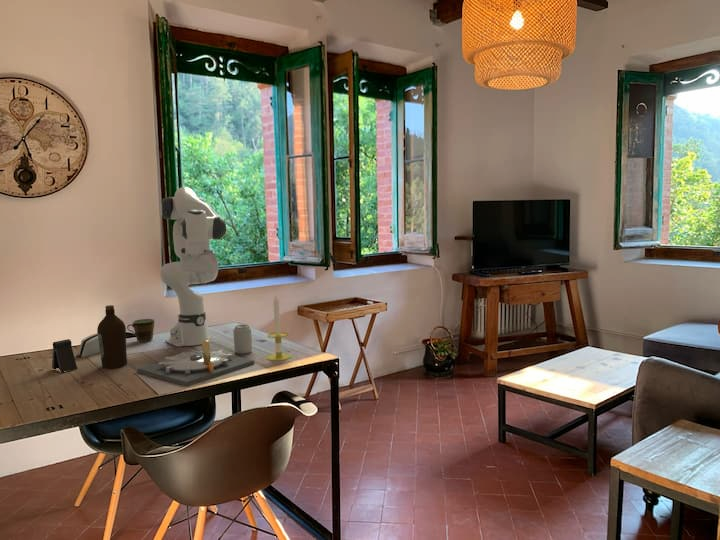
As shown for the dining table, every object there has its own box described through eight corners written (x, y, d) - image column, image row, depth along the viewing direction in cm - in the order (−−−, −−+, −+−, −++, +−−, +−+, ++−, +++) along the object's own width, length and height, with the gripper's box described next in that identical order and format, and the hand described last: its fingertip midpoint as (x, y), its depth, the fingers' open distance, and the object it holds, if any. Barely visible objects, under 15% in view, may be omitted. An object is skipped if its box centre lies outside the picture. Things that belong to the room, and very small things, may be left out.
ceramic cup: (150, 337, 275) (149, 317, 274) (159, 340, 268) (157, 320, 267) (124, 342, 266) (122, 322, 265) (132, 345, 259) (131, 325, 258)
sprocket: (151, 376, 203) (149, 347, 202) (170, 356, 231) (168, 330, 229) (225, 371, 206) (223, 343, 204) (235, 352, 233) (233, 327, 232)
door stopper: (77, 369, 222) (74, 340, 221) (62, 373, 217) (59, 343, 216) (67, 366, 227) (64, 337, 226) (51, 369, 223) (49, 340, 221)
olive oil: (128, 360, 233) (123, 302, 230) (129, 367, 223) (124, 306, 220) (100, 364, 228) (95, 305, 225) (100, 371, 219) (94, 309, 216)
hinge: (105, 347, 258) (109, 327, 255) (113, 351, 256) (116, 331, 254) (75, 356, 242) (78, 336, 240) (82, 360, 241) (86, 340, 238)
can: (254, 350, 243) (252, 323, 242) (249, 354, 236) (247, 327, 235) (237, 350, 244) (236, 323, 243) (232, 354, 237) (230, 327, 235)
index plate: (137, 372, 215) (136, 358, 215) (204, 353, 241) (203, 341, 240) (186, 386, 196) (185, 371, 195) (254, 363, 221) (253, 350, 221)
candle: (294, 354, 233) (291, 292, 230) (285, 361, 224) (282, 296, 220) (273, 353, 236) (269, 292, 233) (263, 360, 226) (259, 295, 223)
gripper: (221, 249, 221) (223, 283, 223) (190, 247, 233) (192, 280, 235) (208, 251, 216) (210, 285, 218) (177, 249, 228) (179, 282, 230)
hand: (201, 282), depth 227 cm, fingers closed
